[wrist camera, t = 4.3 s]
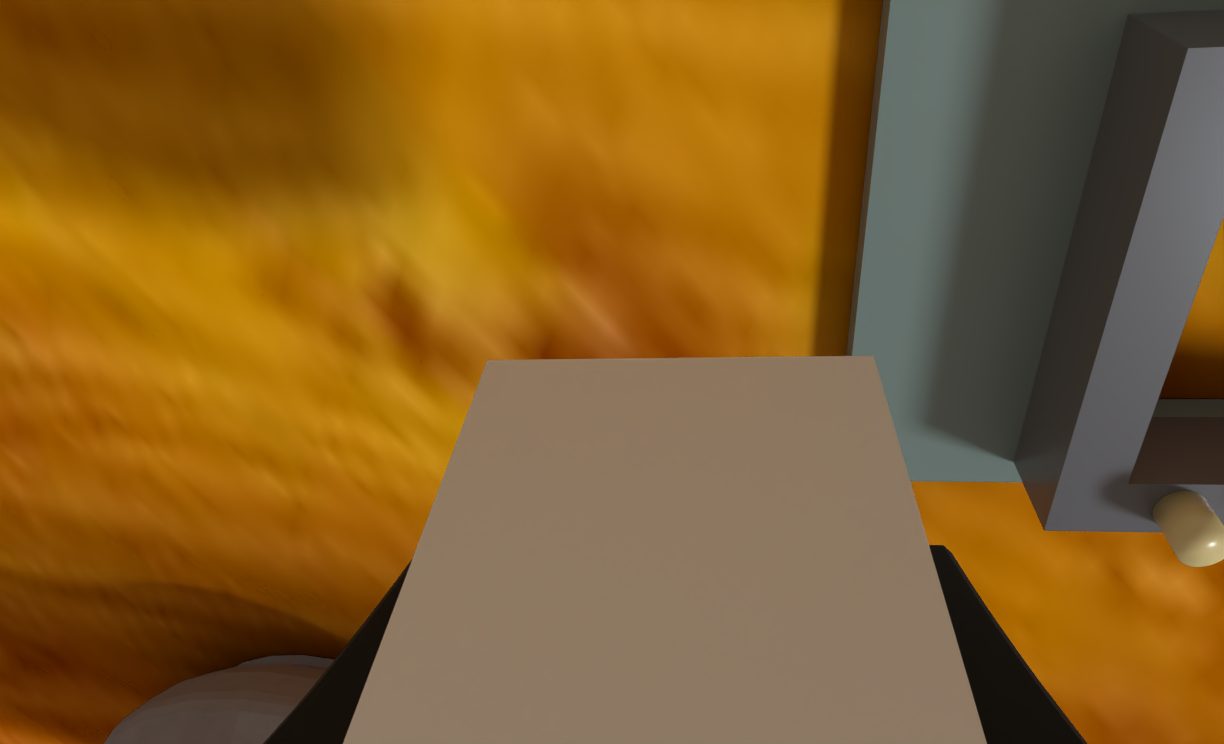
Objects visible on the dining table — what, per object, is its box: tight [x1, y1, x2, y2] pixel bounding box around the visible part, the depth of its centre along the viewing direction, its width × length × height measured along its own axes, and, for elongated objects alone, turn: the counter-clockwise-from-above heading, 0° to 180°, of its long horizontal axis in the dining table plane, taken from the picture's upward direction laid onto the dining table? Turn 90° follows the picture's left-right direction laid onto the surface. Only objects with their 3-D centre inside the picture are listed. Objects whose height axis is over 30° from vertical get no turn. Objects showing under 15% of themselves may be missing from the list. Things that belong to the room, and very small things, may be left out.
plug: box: [343, 356, 987, 744], centre depth 9 cm, size 4×4×6 cm
